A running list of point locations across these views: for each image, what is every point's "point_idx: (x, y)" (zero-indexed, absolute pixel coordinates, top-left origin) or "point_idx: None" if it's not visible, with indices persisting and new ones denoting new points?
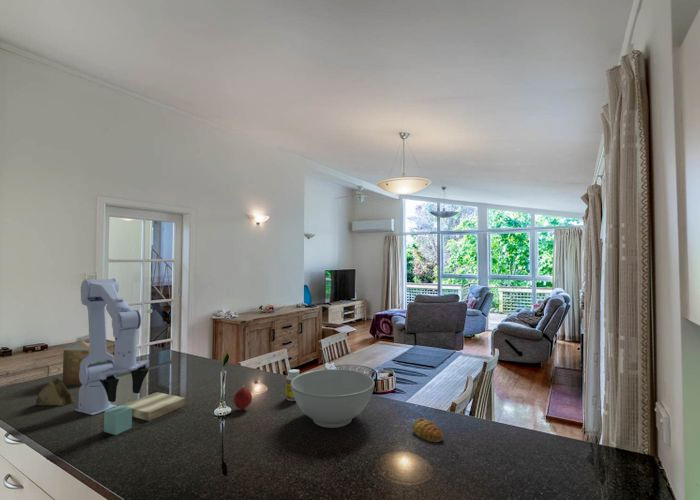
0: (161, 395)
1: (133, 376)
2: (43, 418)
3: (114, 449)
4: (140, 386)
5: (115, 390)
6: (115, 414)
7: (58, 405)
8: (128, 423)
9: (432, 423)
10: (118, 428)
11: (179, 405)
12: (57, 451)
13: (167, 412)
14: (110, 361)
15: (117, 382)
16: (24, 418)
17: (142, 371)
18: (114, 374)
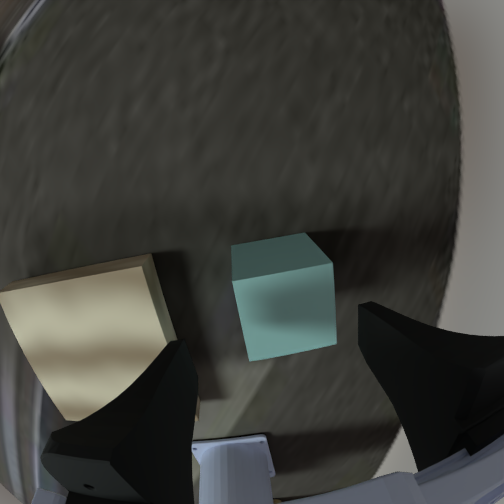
0: (57, 389)
1: (185, 474)
2: (335, 469)
3: (364, 109)
4: (156, 364)
5: (410, 332)
6: (332, 263)
7: (280, 500)
8: (248, 250)
9: None
10: (296, 240)
11: (25, 281)
12: (444, 262)
13: (71, 270)
14: None
15: (453, 360)
16: (350, 480)
17: (113, 458)
18: (457, 465)
